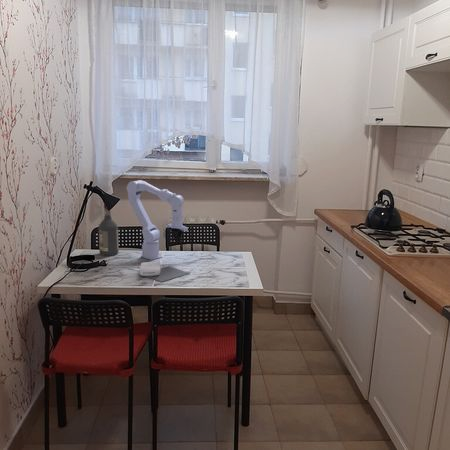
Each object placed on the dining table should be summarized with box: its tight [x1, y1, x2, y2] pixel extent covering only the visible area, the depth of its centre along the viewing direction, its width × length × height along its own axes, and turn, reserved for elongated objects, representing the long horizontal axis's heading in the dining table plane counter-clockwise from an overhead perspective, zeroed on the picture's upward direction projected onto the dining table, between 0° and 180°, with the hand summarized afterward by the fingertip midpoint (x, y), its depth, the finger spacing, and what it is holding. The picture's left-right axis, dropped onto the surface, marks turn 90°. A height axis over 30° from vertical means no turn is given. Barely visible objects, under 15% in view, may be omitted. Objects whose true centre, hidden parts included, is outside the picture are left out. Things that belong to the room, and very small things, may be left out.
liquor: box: [98, 203, 119, 257], centre depth 250 cm, size 9×9×30 cm
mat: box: [145, 265, 190, 283], centre depth 219 cm, size 16×18×1 cm
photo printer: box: [139, 261, 162, 277], centre depth 219 cm, size 10×4×12 cm
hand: (177, 242), depth 241 cm, fingers closed
